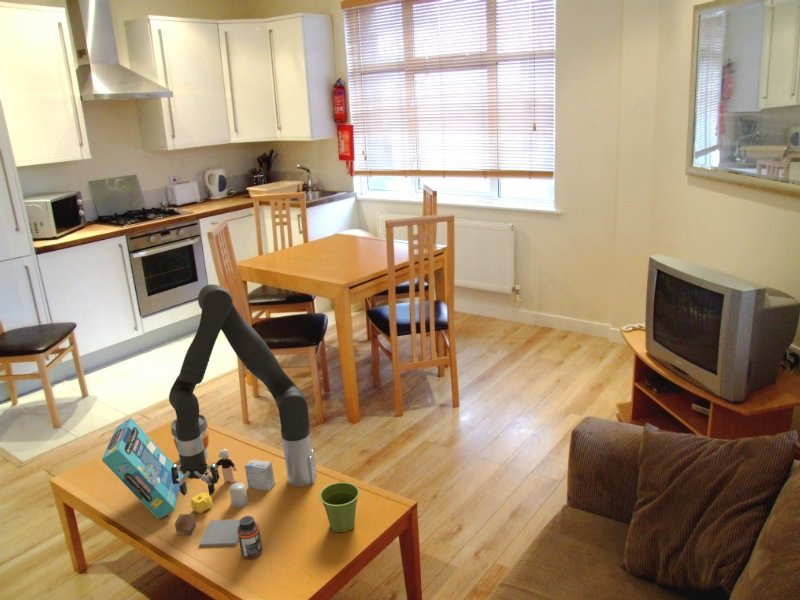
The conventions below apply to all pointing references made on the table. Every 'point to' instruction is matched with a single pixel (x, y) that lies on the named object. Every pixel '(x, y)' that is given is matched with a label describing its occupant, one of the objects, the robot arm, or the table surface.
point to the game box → (142, 468)
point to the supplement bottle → (249, 538)
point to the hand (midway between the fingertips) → (198, 493)
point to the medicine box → (259, 475)
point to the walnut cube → (185, 524)
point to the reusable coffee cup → (203, 430)
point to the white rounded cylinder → (238, 495)
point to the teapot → (201, 502)
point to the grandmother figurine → (226, 467)
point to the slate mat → (221, 533)
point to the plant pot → (340, 505)
